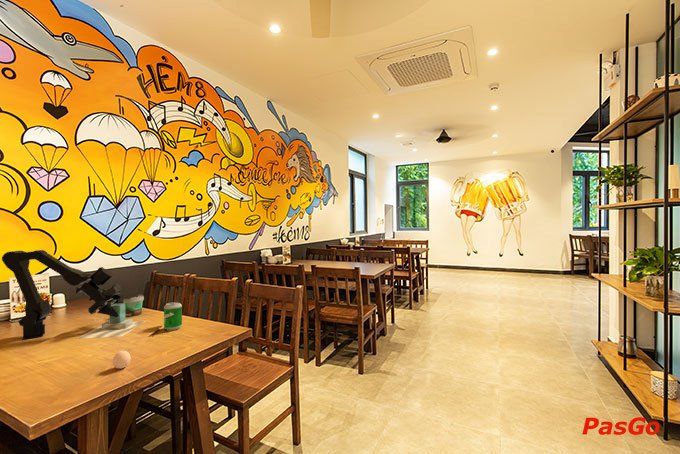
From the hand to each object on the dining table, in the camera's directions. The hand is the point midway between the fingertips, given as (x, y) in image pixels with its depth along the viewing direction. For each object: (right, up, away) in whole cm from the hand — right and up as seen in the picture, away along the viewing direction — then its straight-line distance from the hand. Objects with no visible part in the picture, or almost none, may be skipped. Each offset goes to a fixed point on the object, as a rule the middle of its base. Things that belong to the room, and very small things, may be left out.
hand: (120, 314), depth 146 cm
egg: (+28, -7, -39) cm, 49 cm away
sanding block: (-1, -6, 0) cm, 6 cm away
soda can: (+24, -7, +1) cm, 25 cm away
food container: (-9, -7, +25) cm, 28 cm away
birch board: (-1, -7, -3) cm, 8 cm away
